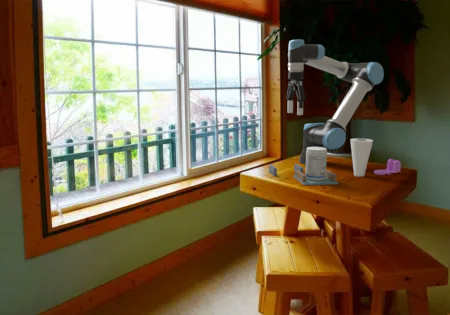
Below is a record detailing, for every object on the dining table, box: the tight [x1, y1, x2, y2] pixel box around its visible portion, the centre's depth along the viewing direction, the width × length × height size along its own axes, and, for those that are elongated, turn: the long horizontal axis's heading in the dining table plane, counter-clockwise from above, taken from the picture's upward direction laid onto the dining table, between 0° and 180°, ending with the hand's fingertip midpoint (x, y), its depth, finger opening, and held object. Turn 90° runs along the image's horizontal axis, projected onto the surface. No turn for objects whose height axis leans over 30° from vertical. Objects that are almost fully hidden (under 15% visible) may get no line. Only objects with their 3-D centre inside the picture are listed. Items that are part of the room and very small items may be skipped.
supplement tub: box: [304, 147, 328, 181], centre depth 184 cm, size 10×10×15 cm
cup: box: [350, 138, 374, 178], centre depth 195 cm, size 11×11×18 cm
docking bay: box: [293, 169, 339, 186], centre depth 185 cm, size 16×16×4 cm
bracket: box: [373, 158, 402, 176], centre depth 202 cm, size 13×6×7 cm, turn 108°
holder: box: [268, 163, 304, 177], centre depth 198 cm, size 15×10×4 cm, turn 98°
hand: (294, 113), depth 202 cm, fingers open, 13 cm apart
